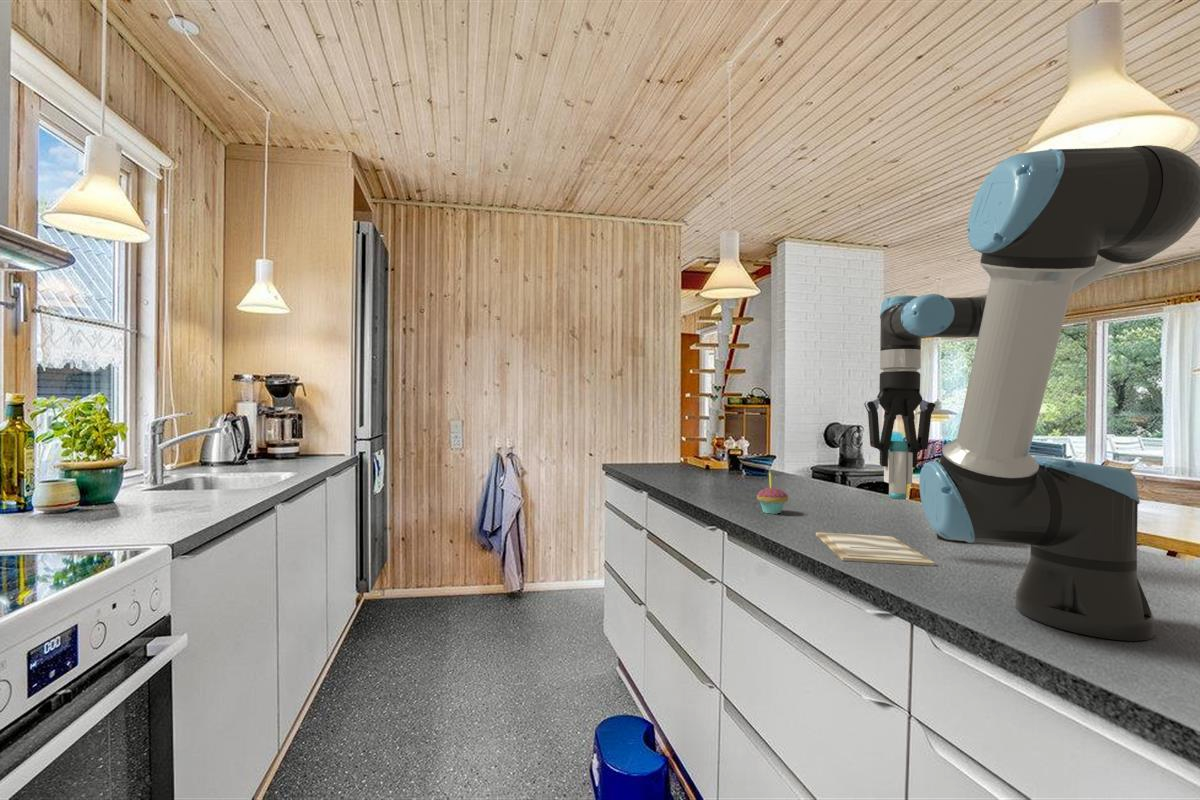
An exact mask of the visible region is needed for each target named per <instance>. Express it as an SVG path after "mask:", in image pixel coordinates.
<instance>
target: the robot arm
mask: <svg viewBox="0 0 1200 800" xmlns="http://www.w3.org/2000/svg"><path fill="white" fill-rule="evenodd" d="M1199 219H1200V165H1199V164H1198V163H1197V162H1196V161H1195V160H1194V159H1193V158H1191V157H1190V155H1187V154H1185V153H1184V152H1182V151H1180V150H1177V149H1174V148H1172V147H1167V146H1163V145H1162V146H1161V145H1153V144H1152V145H1149V144H1148V145H1147V144H1146V145H1145V144H1144V145H1133V146H1119V147H1118V146H1116V147H1115V146H1114V147H1101V148H1100V147H1094V148H1093V147H1091V148H1061V149H1058V148H1056V149H1055V148H1054V149H1053V148H1049V149H1046V150H1045V149H1044V150H1037V151H1029V152H1022V153H1018V154H1014V155H1013V154H1012V155H1011V156H1009V157H1007V158H1005V159H1003V160H1002V161H1000V162H999V164H997V165H996V166H995V167H994V168H993V169H992V170H990V173H989V174H988V175H987V176H986V177H985V179H984V180H983V182H982V184H981V185H980V187H979V188H978V191H977V193H976V195H975V196H974V199H973V202H972V206H971V207H970V210H969V214H968V218H967V227H966V231H967V232H968V234H967V240H968V243H969V246H970V248H972V249H973V250H974V251H975V252H977V253H978V252H979V254H981V258H980V262H979V265H980V266H981V267H982V268H983V270H984V271H986V273H987V274H988V275H989V277H990V280H989V283H988V288H987V295H986V296H970V297H968V296H967V297H945V296H944V295H941V294H938V293H929V294H923V295H919V296H917V295H911V294H910V295H895V296H891V297H887V298H884V300H882V302H881V306H880V313H879V319H880V334H879V335H880V337H879V338H880V339H879V340H880V345H879V347H880V352H879V353H880V354H879V369H880V370H881V371H882V372H880V373H879V392H878V395H877V396H876V398H875V399H873V400H870V401H868V400H867V401H865V402H864V405H863V406H864V407H865V409H866V412H867V415H868V416H867V419H868V421H867V422H868V433H869V445H870V447H871V448H874V449H877V450H878V451H879V465H880V467H883V482H884V483H887V484H889V483H893V452H890V450H889V448H890V442H891V441H892V438H893V432H894V426H895V421H896V419H897V416H901V419H902V421H903V428H904V435H905V441H907V442H908V451H907V483H906V485H907V484H908V485H912V484H913V469H914V468H917V467H918V453H920V452H921V451H923V450H924V451H925V450H927V449H928V447H929V439H930V430H931V421H932V414H933V412H934V410H935V408H936V403H934V402H929V401H927V400H924V398H923V396H922V395H921V373H920V372H919V371H918V370H920V369H921V368H922V365H921V363H922V359H921V356H922V355H921V354H922V339H923V338H977V342H976V345H975V351H974V355H973V361H972V365H971V370H970V373H969V374H970V375H969V380H968V383H967V389H966V394H965V399H964V404H963V407H962V408H963V409H962V413H961V418H960V423H959V427H958V431H957V437H956V438H955V439H953V440H952V441H949V442H947V443H945V444H944V445H943V446H942V449H941V450H942V451H941V454H940V455H941V456H940V460H939V461H936V460H931V461H929V462H926V463H924V464H923V466H922V467H921V470H920V473H919V479H918V480H919V482H918V485H919V496H920V502H921V505H922V509H923V513H924V515H925V517H926V520H927V522H928V524H929V525H930V527H931V529H932V530H933V531H934V532H935V533H936V535H937V534H938V535H939V536H941V537H943V538H945V539H950V540H960V541H966V542H968V543H969V544H973V543H991V544H1006V545H1007V544H1010V545H1025V546H1026V545H1029V546H1030V555H1029V560H1028V564H1027V566H1026V568H1025V570H1024V573H1023V574H1022V576H1021V579H1020V581H1019V584H1018V587H1017V588H1016V590H1015V597H1014V599H1015V600H1014V601H1015V602H1014V603H1015V604H1014V607H1015V608H1016V610H1017V611H1018V612H1019V613H1021V614H1022V615H1024V616H1026V617H1028V618H1030V619H1032V620H1034V621H1036V622H1039V623H1042V624H1044V625H1047V626H1049V627H1053V628H1056V629H1060V630H1062V631H1063V630H1064V631H1066V632H1071V633H1076V634H1078V635H1079V634H1080V635H1083V636H1090V637H1094V638H1099V639H1100V638H1101V639H1106V640H1107V639H1108V640H1116V641H1128V642H1130V641H1131V642H1132V641H1133V642H1135V641H1136V642H1138V641H1139V642H1140V641H1147V640H1150V639H1151V640H1152V638H1154V637H1155V618H1154V615H1153V613H1152V611H1151V607H1150V605H1149V602H1148V599H1147V598H1146V595H1145V593H1144V590H1143V588H1142V585H1141V582H1140V579H1139V577H1138V516H1139V515H1138V513H1139V512H1138V505H1140V503H1141V502H1140V501H1141V500H1140V499H1139V491H1138V490H1139V489H1138V482H1137V481H1138V480H1137V478H1136V476H1135V474H1133V473H1132V472H1131V471H1130V470H1128V469H1125V468H1121V467H1117V466H1116V467H1115V466H1109V465H1102V464H1097V463H1089V462H1082V461H1075V460H1068V459H1061V458H1054V457H1047V456H1041V455H1035V456H1033V455H1032V454H1031V453H1030V450H1031V447H1032V446H1031V445H1032V443H1033V439H1034V434H1035V430H1036V427H1037V423H1038V419H1039V416H1040V412H1041V408H1042V406H1043V405H1042V404H1043V401H1044V396H1045V392H1046V390H1047V385H1048V382H1049V377H1050V375H1051V372H1052V371H1051V370H1052V366H1053V363H1054V358H1055V355H1056V351H1057V347H1058V344H1059V340H1060V336H1061V332H1062V328H1063V325H1064V321H1065V317H1066V312H1067V309H1068V306H1069V302H1070V299H1071V298H1070V297H1071V296H1072V295H1074V294H1075V293H1077V292H1080V290H1082V289H1084V288H1085V287H1086V288H1087V286H1089V285H1091V284H1092V283H1094V282H1097V280H1099V279H1101V278H1103V277H1104V276H1106V275H1108V274H1109V273H1111V272H1113V271H1115V270H1117V269H1118V268H1120V267H1122V266H1124V265H1125V266H1127V265H1128V266H1130V265H1135V264H1140V263H1143V262H1145V261H1147V260H1149V259H1151V258H1153V257H1155V256H1156V255H1158V254H1160V253H1161V252H1164V251H1165V250H1167V249H1168V248H1170V247H1171V246H1172V245H1174V244H1175V243H1177V242H1178V241H1180V239H1182V238H1183V237H1184V236H1185V235H1186V234H1187V233H1189V232H1190V230H1191V229H1192V228H1193V227H1194V225H1195V224H1196V223H1197V222H1198V221H1199ZM879 405H880V406H881V408H882V409H883V410H884V414H883V424H882V428H881V430H882V431H881V435H880V425H879V424H880V423H879V422H880V421H879V413H878V410H879V408H880V407H879ZM918 407H919V410H920V413H919V420H918V429H917V432H916V425H915V410H916V409H917V408H918Z"/></svg>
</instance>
